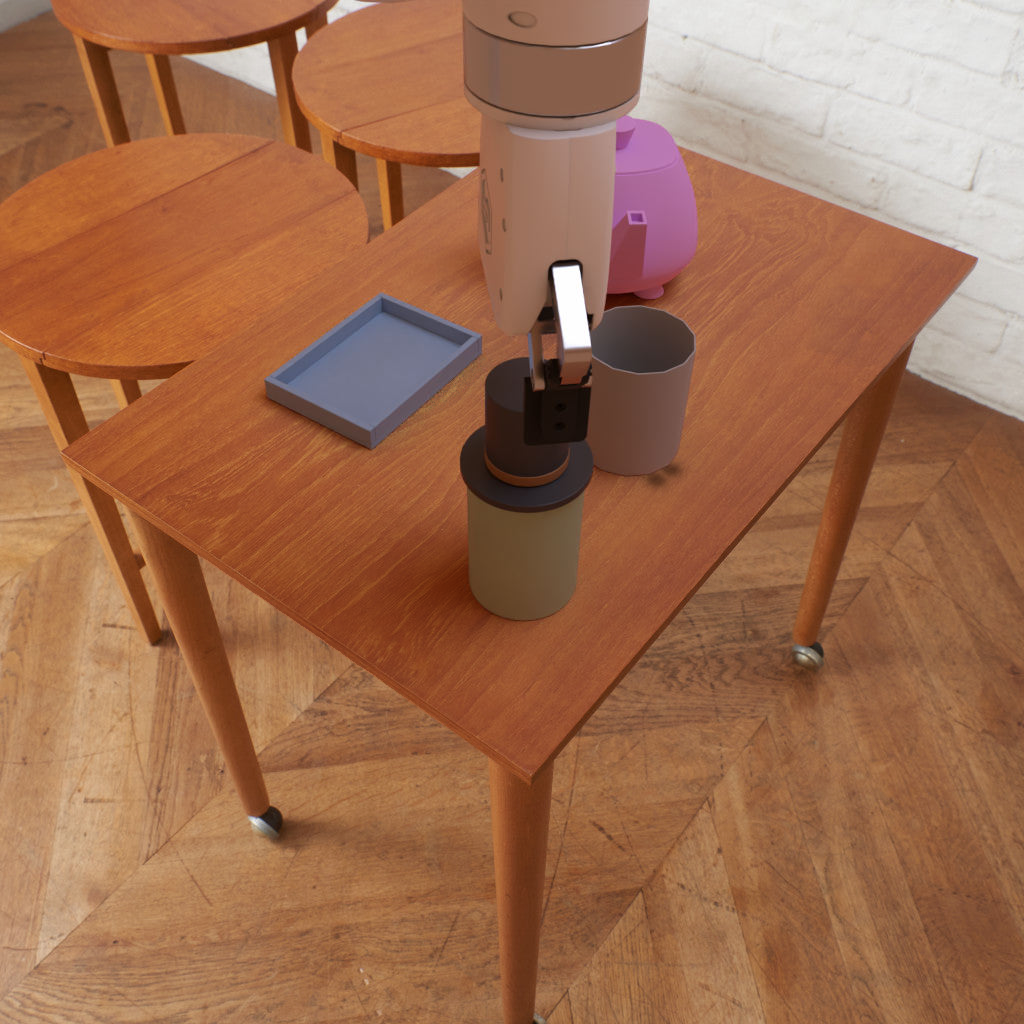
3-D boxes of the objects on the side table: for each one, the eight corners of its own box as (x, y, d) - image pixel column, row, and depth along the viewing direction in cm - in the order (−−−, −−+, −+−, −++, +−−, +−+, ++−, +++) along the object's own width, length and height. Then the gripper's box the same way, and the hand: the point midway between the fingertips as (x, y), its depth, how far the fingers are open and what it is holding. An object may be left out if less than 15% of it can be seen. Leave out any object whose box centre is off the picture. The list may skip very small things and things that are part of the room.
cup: (649, 490, 80) (665, 388, 73) (556, 451, 83) (562, 349, 76) (695, 428, 85) (714, 327, 78) (606, 393, 88) (616, 293, 81)
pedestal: (483, 630, 71) (482, 518, 63) (458, 549, 76) (454, 436, 68) (590, 608, 72) (602, 496, 64) (558, 530, 77) (566, 417, 69)
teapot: (495, 351, 92) (496, 195, 81) (479, 229, 106) (477, 83, 95) (715, 340, 94) (744, 186, 83) (670, 222, 107) (690, 76, 97)
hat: (477, 524, 63) (476, 442, 58) (446, 433, 68) (443, 351, 63) (611, 499, 64) (620, 418, 59) (570, 412, 70) (576, 331, 65)
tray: (371, 450, 83) (369, 431, 82) (267, 397, 87) (263, 379, 86) (482, 353, 92) (482, 334, 90) (382, 310, 96) (380, 291, 95)
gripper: (443, -18, 49) (452, 291, 61) (490, 162, 37) (489, 500, 50) (600, -23, 50) (577, 283, 62) (695, 151, 38) (644, 486, 50)
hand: (538, 379), depth 56 cm, fingers open, 9 cm apart
